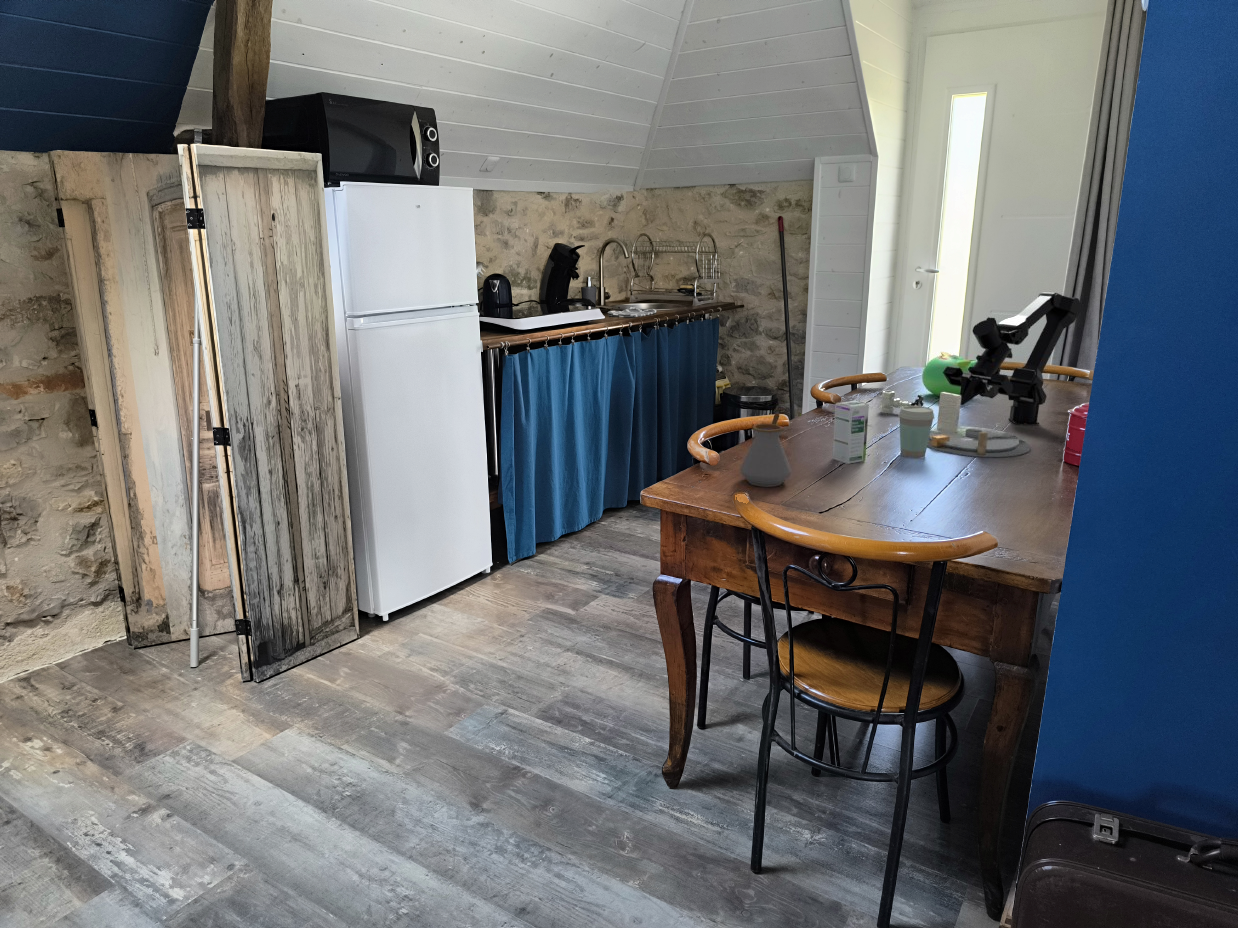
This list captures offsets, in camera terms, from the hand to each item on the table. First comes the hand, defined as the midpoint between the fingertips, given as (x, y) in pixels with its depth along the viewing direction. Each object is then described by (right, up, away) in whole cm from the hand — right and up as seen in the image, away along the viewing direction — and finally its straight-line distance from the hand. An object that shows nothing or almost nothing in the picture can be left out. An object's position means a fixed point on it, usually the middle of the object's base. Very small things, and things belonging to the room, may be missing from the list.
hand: (960, 404), depth 224 cm
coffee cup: (-18, -14, -15) cm, 28 cm away
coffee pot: (-58, -19, -31) cm, 68 cm away
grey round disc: (+1, -11, -5) cm, 12 cm away
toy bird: (+18, +6, +55) cm, 58 cm away
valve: (-6, -1, +30) cm, 31 cm away
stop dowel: (-2, -14, -16) cm, 22 cm away
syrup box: (-36, -16, -19) cm, 43 cm away
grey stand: (0, -10, -5) cm, 12 cm away
